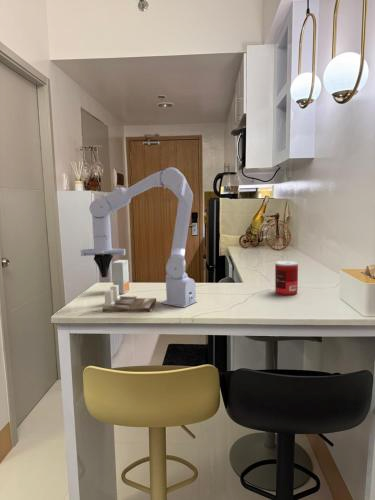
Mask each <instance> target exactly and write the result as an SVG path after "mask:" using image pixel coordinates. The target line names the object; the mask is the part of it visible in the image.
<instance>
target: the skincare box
mask: <svg viewBox="0 0 375 500" xmlns="http://www.w3.org/2000/svg"><path fill="white" fill-rule="evenodd" d="M111 267H112V268H111V269H112V285H118V286H119V295H125V294H126V293H127V292H129V291H130V275H129V274H130V272H129V260H128V259H118V260H114V261H113V262H112V263H111Z"/></svg>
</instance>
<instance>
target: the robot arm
mask: <svg viewBox="0 0 375 500" xmlns="http://www.w3.org/2000/svg"><path fill="white" fill-rule="evenodd" d="M164 186H165V187H166V188H167V189H169V190H171V191H172V193H173V194H174V196H176V198H177V199H178V202H177V210H176V218H175V225H174V230H173V237H172V243H171V245H172V246H171V251H170V252H171V253H170V256H169V258H168V259H167V263H166V265H165V271H166V274H165V289H166V291H165V292H166V293H165V294H166V300H163V301H161V302H160V303H161V304H162V305H163V304H164V305H168V306H174V307H180V308H186V307H188V306H191V305H192V304H195V303H196V302H198V300H197V298H196V297H197V295H196V281H195V279H193V278H190V277H189V276H188V273H186V265H187V262H186V259H185V254H186V246H187V240H188V233H189V227H190V220H191V215H192V206H193V202H194V200H193V199H194V194H193V191H192V189H191V187H190V186H189V183H188V181H187V179H186V177H185V175H184V174H183V173H182V172H181V171H180V170H179V169H177V168H176V167H173V166H170V167H167V168H165V169H164V170H160V171H157V172H154V173H153V174H150V175H149V176H146V177H145V178H143V179H142V180H140V181H138V182H136V183H135V184H133V185H131V186H129V187H127V188H125V187H123V186H120V187H117V186H116V187H115V188H113V191H111V192H109V193H107V194H106V195H105V194H102V195H101V197H100V198H95V199H94V200H92V202H91V203H90V204H89V212H90V214H91V217H92V218H91V219H92V237H93V238H92V239H93V248H91V249H89V248H88V249H86V248H85V249H80V257H85V256H86V257H87V256H93V261H94V262H95V263H96V265H97V267H98V269H99V272H100V275H101V278H107V277H108V275H109V269H110V266H111V265H110V264H111V262H112V260H113V257H114V256H125V255H126V252H127V251H126V248H114V247H113V246H112V227H111V220H110V219H111V217H110V214H111V213H112V212H115V211H117V210H119V209H121V208H123V207H125V206H127V205H129V204H130V203H131V202H132V201H131V200H132V198H134V197H135V196H137V195H140V194H142V193H144V192H146V191H147V190H150V189H151V188H154V187H156V188H157V187H158V188H159V187H161V188H163V187H164ZM112 247H113V248H112Z"/></svg>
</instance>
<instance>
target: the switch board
mask: <svg viewBox="0 0 375 500" xmlns="http://www.w3.org/2000/svg"><path fill="white" fill-rule="evenodd" d="M119 296H120V295H119ZM114 302H115V304H114V306H104V305H102V313H150V312H151V311H152V309H153V307H154V306H155V304H156V302H157V298H155V297H153V298H152V297H149V298H148V297H147V298H146V297H143V298H138V296H130V295H129V296H127V295H126V296H124V295H123V296H120V299H119V300H114Z"/></svg>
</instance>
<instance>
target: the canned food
mask: <svg viewBox="0 0 375 500" xmlns="http://www.w3.org/2000/svg"><path fill="white" fill-rule="evenodd" d="M274 266H275V270H274V272H275V274H274V275H275V276H274V277H275V279H274V280H275V281H274V282H275V284H274V287H275V294H277V295H280V296H294V295H297V294H298V291H299V290H298V288H299V286H298V281H299V278H298V276H299V262H298V261H293V260H277V261H276V262H275V265H274Z"/></svg>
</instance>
